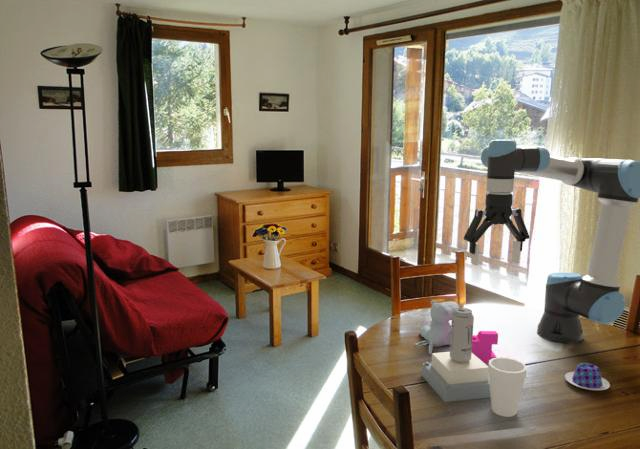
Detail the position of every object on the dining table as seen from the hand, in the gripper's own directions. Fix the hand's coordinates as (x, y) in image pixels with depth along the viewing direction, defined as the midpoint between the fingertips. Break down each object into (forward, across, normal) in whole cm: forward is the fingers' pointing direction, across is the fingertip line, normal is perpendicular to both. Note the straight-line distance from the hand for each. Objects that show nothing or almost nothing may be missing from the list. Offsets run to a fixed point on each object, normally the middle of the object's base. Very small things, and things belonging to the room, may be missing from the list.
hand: (495, 263), depth 156 cm
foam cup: (+34, +9, +23) cm, 42 cm away
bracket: (+35, -1, -10) cm, 36 cm away
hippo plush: (+34, +7, -23) cm, 42 cm away
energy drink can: (+26, +14, +8) cm, 31 cm away
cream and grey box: (+34, +14, +8) cm, 38 cm away
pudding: (+35, -25, +13) cm, 45 cm away
